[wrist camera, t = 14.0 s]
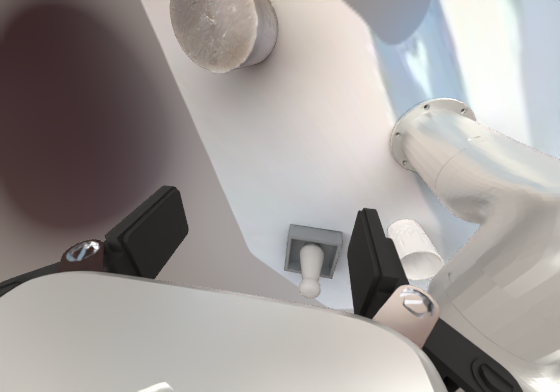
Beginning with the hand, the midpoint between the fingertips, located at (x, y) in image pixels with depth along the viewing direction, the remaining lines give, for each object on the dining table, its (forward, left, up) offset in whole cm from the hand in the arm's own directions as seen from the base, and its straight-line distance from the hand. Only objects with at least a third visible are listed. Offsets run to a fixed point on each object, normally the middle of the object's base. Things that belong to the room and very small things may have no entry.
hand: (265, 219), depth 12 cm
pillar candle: (+10, -9, -33) cm, 36 cm away
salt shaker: (-6, +34, -33) cm, 47 cm away
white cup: (-25, +25, -33) cm, 48 cm away
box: (-6, +34, -33) cm, 48 cm away
